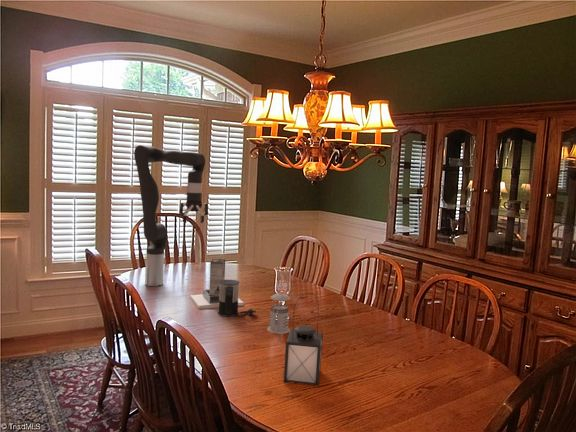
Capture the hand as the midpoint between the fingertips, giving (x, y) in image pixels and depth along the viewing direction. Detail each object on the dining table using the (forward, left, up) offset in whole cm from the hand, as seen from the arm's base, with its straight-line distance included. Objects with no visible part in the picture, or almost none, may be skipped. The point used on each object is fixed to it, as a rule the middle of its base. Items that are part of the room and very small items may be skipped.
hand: (193, 223), depth 242 cm
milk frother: (+12, -42, -36) cm, 57 cm away
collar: (+8, -21, -35) cm, 41 cm away
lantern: (+13, -108, -36) cm, 115 cm away
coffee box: (+8, -21, -32) cm, 39 cm away
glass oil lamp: (+22, -66, -36) cm, 78 cm away
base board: (+8, -21, -36) cm, 43 cm away
